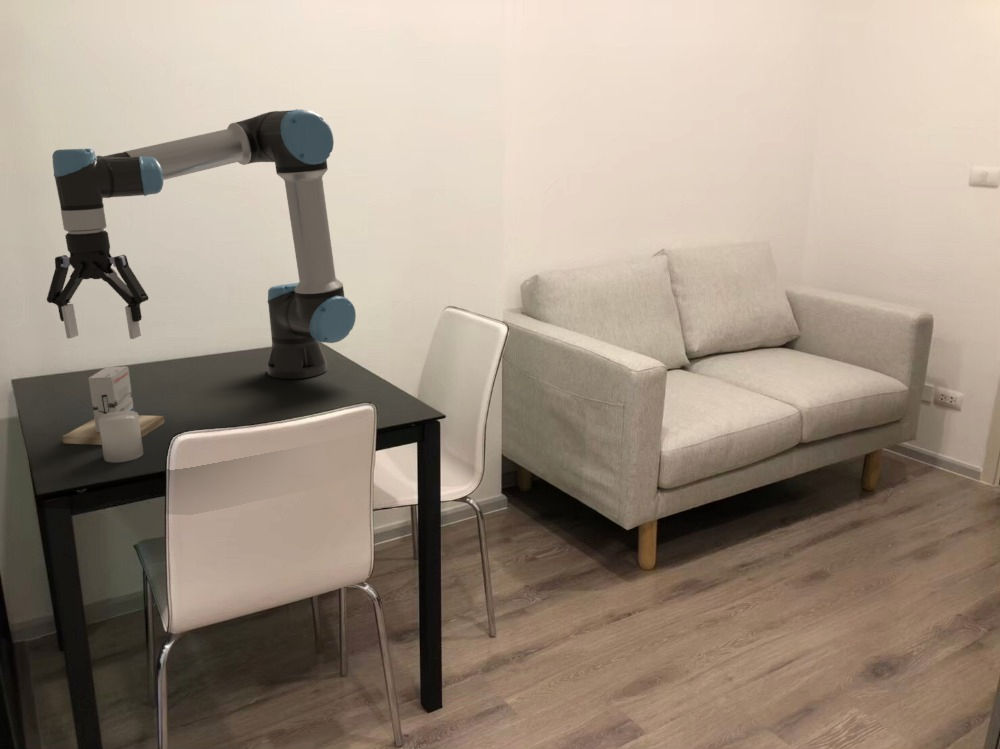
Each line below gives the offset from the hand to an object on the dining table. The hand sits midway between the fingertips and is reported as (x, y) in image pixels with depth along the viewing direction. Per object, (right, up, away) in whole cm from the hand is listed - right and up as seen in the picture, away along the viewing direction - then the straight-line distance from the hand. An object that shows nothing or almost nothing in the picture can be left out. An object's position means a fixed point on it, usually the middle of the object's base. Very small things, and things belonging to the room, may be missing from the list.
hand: (104, 337), depth 168 cm
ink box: (0, -18, +5) cm, 19 cm away
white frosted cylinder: (+7, -23, -7) cm, 25 cm away
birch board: (0, -20, +5) cm, 20 cm away
